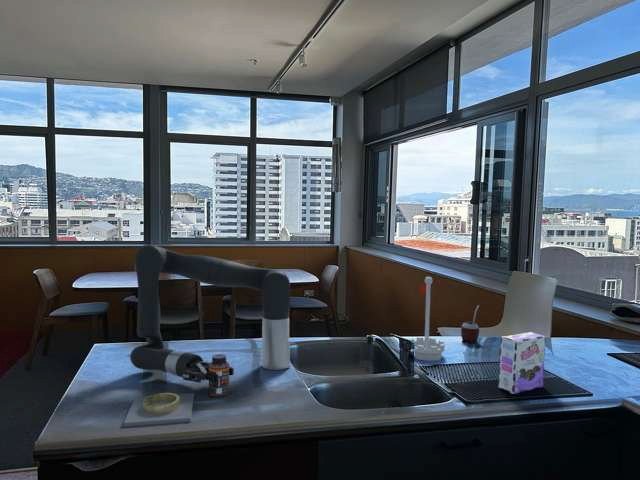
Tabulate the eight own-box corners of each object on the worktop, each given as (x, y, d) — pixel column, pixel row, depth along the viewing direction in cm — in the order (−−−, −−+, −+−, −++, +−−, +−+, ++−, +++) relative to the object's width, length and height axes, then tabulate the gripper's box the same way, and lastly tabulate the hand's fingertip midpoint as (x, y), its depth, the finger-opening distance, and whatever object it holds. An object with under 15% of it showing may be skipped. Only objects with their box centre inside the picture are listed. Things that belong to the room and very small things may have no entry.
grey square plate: (194, 396, 134) (194, 393, 134) (190, 421, 119) (190, 417, 119) (135, 400, 131) (135, 397, 131) (123, 426, 115) (123, 422, 115)
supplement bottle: (224, 398, 133) (224, 359, 132) (205, 396, 134) (204, 358, 134) (232, 390, 139) (232, 353, 138) (213, 388, 140) (213, 351, 140)
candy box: (513, 394, 139) (515, 340, 138) (497, 388, 144) (499, 335, 143) (544, 387, 146) (546, 335, 144) (527, 380, 151) (530, 331, 150)
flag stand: (451, 357, 173) (454, 277, 171) (427, 363, 166) (429, 280, 164) (425, 348, 184) (427, 273, 182) (401, 354, 177) (403, 275, 175)
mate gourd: (462, 344, 191) (463, 308, 190) (459, 338, 198) (460, 304, 197) (481, 345, 189) (482, 309, 188) (477, 340, 197) (479, 305, 196)
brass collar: (180, 398, 130) (180, 391, 130) (177, 413, 121) (177, 405, 121) (146, 401, 128) (146, 394, 128) (140, 415, 119) (140, 408, 119)
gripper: (165, 359, 137) (207, 369, 129) (200, 346, 150) (241, 355, 141) (165, 383, 138) (208, 396, 129) (200, 369, 150) (241, 380, 142)
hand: (225, 375), depth 135 cm, fingers closed on supplement bottle, 6 cm apart
